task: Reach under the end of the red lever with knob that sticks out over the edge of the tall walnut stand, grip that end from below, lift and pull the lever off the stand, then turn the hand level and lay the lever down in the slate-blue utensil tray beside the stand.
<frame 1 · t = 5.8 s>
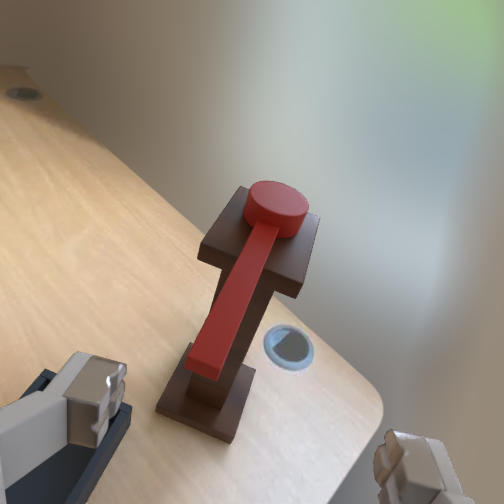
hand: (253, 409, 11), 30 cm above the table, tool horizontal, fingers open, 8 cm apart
stand: (207, 392, 44), on the table
red lever with knob: (271, 219, 27), point 26 cm above the table, touching stand
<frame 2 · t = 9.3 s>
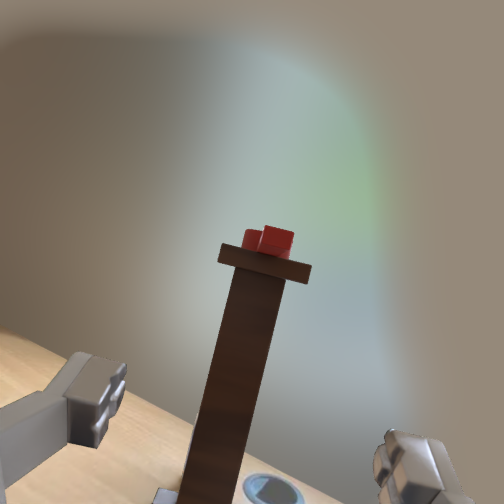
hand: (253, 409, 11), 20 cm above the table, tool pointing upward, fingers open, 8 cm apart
red lever with knob: (264, 256, 33), point 26 cm above the table, touching stand
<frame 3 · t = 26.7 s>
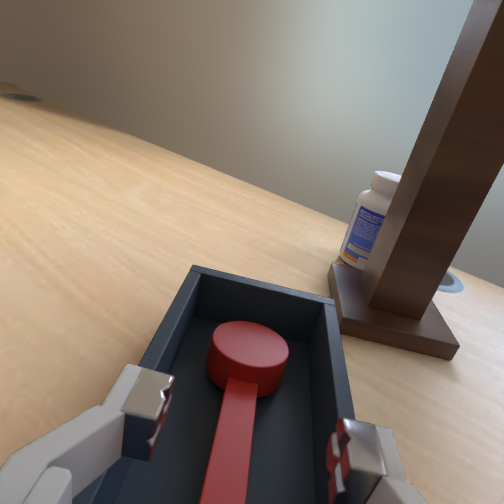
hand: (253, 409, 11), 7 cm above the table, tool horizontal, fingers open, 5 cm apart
stand: (381, 312, 32), on the table
pill bottle: (361, 263, 41), on the table
red lever with knob: (243, 370, 21), point 1 cm above the table, tilted 7°, touching bin
bin: (227, 460, 17), on the table
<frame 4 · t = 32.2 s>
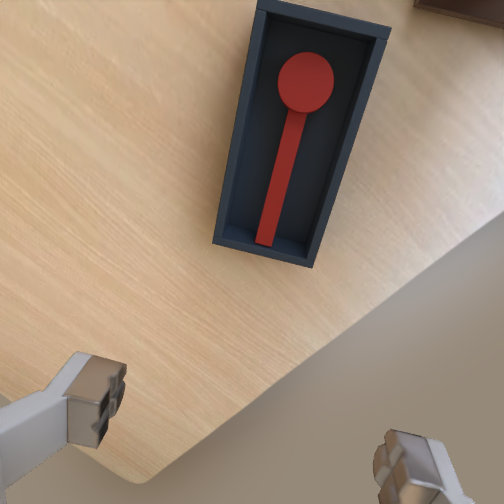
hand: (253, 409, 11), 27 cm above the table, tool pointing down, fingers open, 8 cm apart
red lever with knob: (304, 86, 31), point 1 cm above the table, tilted 7°, touching bin
bin: (290, 143, 34), on the table
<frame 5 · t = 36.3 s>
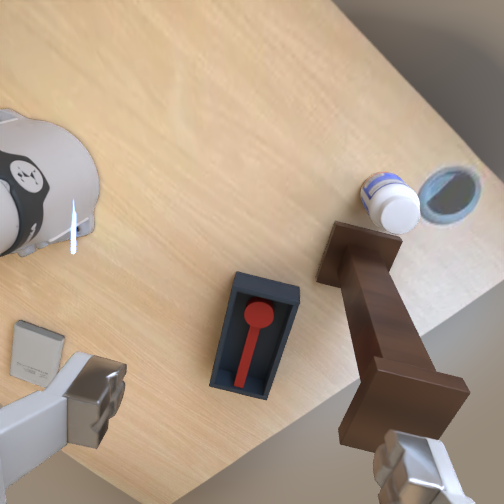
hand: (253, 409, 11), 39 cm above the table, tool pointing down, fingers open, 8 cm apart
stand: (356, 257, 51), on the table
pill bottle: (380, 190, 47), on the table
red lever with knob: (259, 309, 55), point 1 cm above the table, tilted 7°, touching bin
hard drive: (39, 352, 66), on the table
bin: (253, 330, 58), on the table
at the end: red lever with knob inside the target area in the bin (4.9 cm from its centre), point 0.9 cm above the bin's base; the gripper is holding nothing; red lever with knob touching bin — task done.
